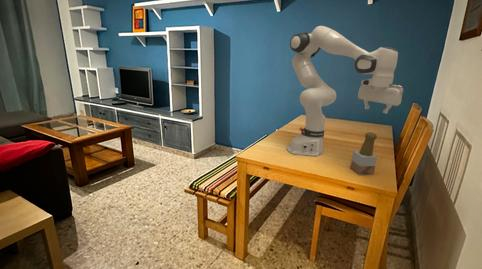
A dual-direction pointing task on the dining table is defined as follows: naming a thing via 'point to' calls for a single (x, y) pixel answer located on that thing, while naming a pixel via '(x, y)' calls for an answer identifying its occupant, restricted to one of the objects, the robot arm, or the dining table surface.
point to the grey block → (363, 159)
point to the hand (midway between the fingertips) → (375, 111)
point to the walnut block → (362, 169)
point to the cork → (368, 144)
